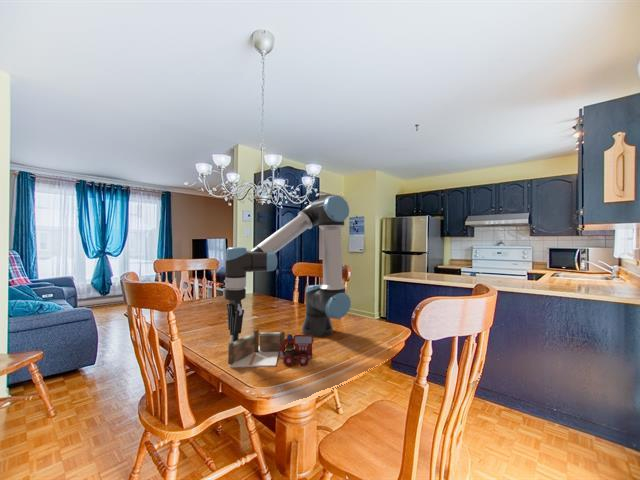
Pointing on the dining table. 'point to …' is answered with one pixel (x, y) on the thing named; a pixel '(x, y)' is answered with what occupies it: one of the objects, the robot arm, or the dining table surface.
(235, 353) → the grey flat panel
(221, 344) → the dining table surface
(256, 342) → the fence fixed section
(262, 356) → the card
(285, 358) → the toy fire truck
